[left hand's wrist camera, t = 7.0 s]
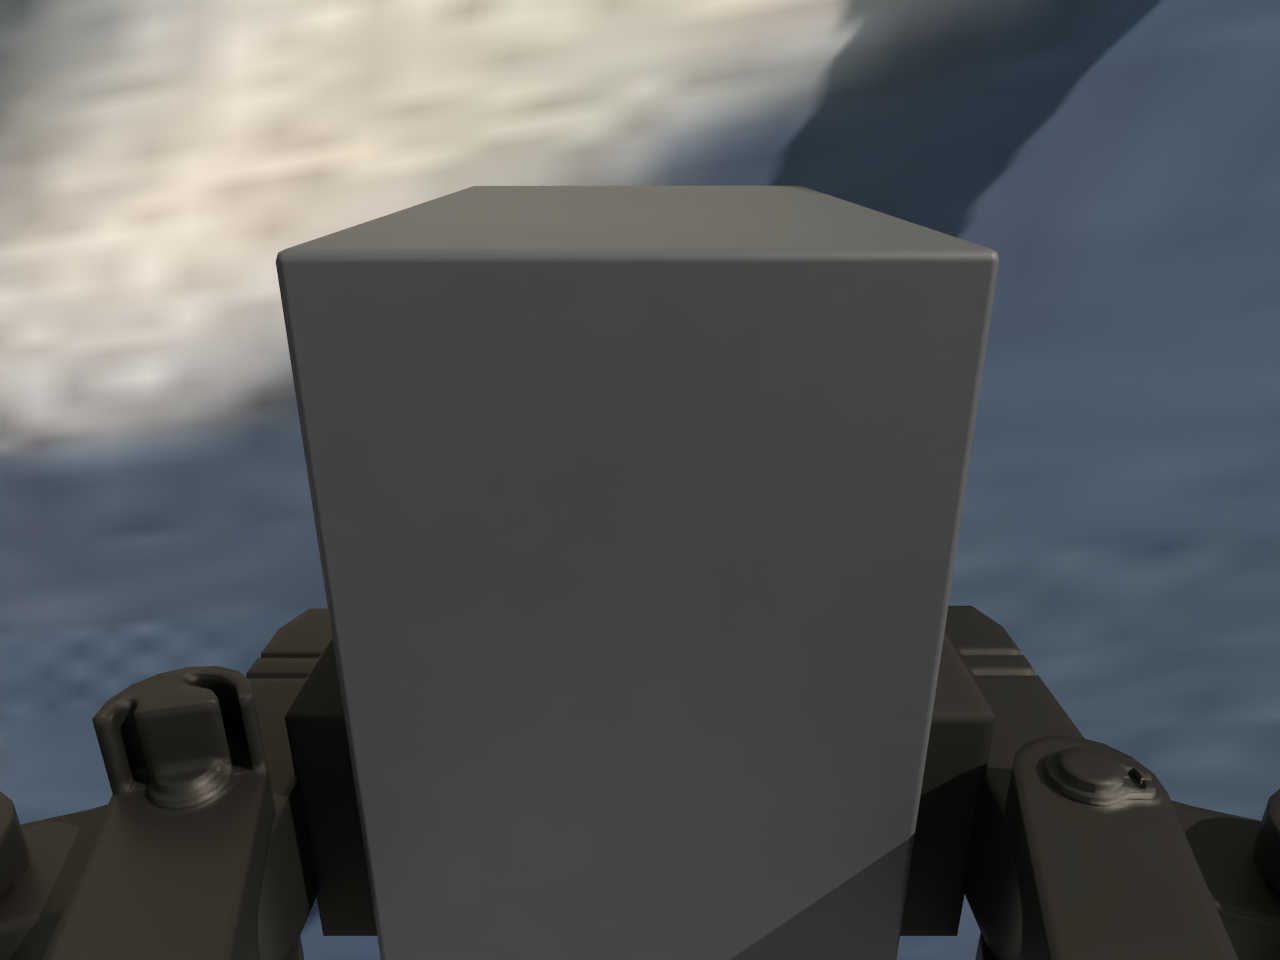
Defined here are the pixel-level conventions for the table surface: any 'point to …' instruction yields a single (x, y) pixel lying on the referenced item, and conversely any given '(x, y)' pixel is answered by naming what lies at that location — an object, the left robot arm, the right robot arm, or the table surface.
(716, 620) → the beam
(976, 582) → the table surface
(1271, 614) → the table surface
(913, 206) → the table surface
